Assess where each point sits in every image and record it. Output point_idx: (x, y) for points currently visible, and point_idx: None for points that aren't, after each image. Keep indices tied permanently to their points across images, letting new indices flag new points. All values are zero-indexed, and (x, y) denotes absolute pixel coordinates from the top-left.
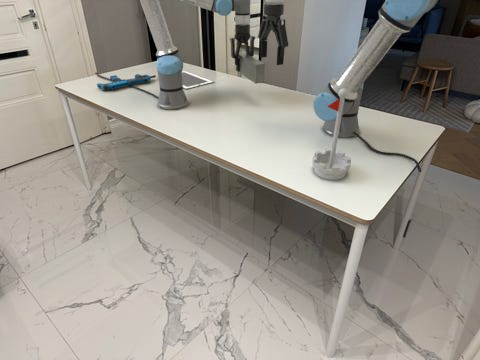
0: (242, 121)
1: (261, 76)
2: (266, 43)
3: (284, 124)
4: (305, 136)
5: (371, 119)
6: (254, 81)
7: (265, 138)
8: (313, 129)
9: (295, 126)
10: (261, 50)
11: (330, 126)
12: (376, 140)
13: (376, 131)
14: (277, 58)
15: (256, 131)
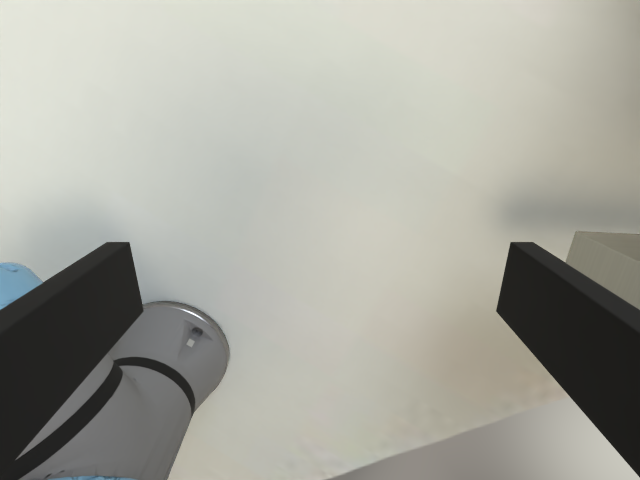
0: (398, 66)
1: None
2: (624, 439)
3: (290, 217)
4: (167, 229)
5: (217, 459)
6: (598, 234)
7: (198, 77)
8: (211, 283)
9: (257, 243)
10: (569, 284)
11: (144, 321)
12: None
13: None
14: (63, 276)
15: (274, 75)
